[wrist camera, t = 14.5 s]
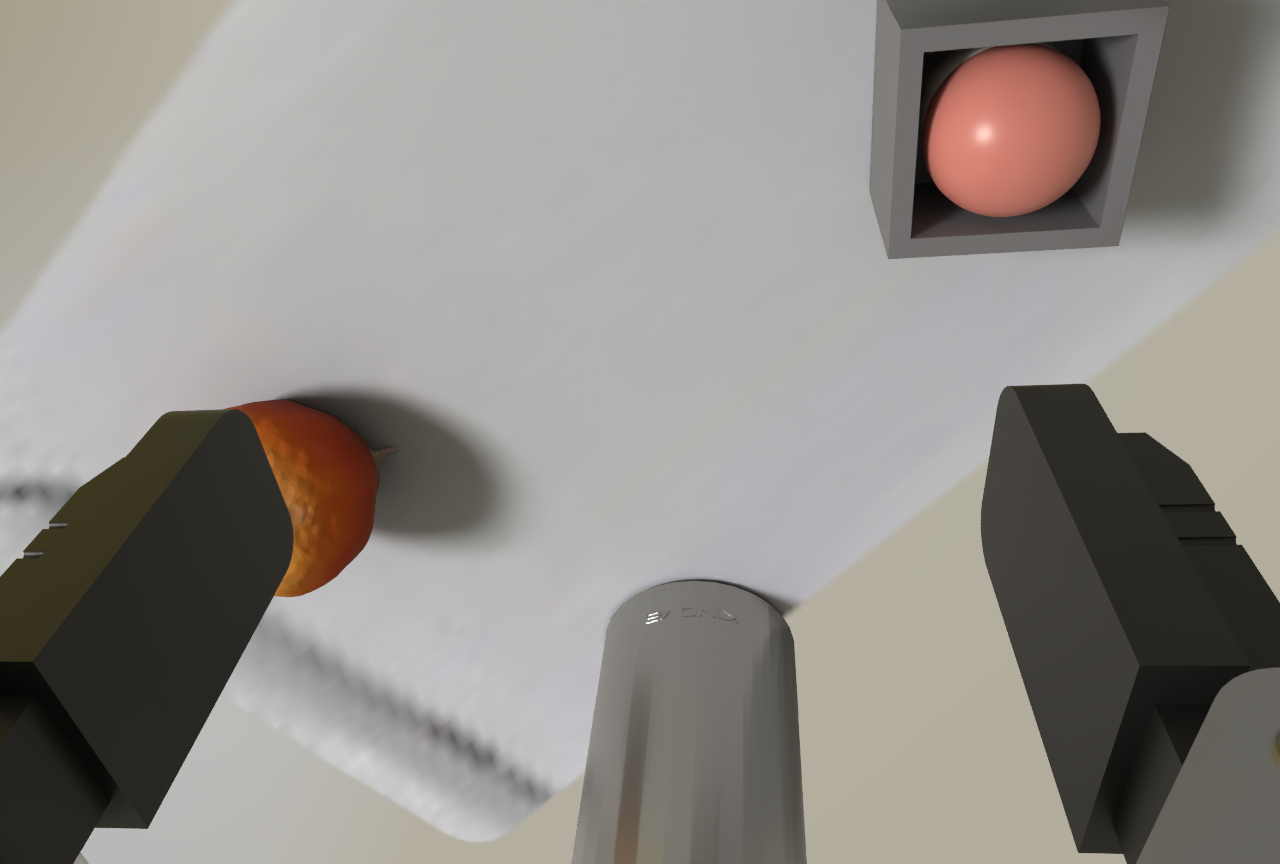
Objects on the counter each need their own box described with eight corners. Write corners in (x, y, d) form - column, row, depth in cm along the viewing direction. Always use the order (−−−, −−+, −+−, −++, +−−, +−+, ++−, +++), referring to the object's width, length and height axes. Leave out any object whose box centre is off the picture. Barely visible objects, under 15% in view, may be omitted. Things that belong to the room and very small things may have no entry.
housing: (1069, 178, 31) (1118, 246, 27) (869, 191, 32) (888, 258, 28) (1106, -36, 27) (1169, 6, 23) (877, -14, 28) (900, 29, 24)
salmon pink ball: (1053, 166, 29) (1106, 240, 25) (903, 176, 30) (929, 249, 26) (1078, 10, 27) (1142, 63, 22) (912, 24, 27) (944, 79, 23)
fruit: (398, 575, 43) (247, 662, 36) (289, 460, 45) (127, 524, 38) (458, 456, 38) (297, 532, 32) (334, 333, 40) (158, 382, 34)
